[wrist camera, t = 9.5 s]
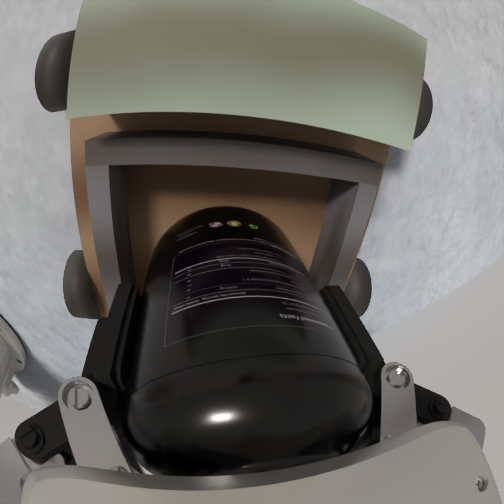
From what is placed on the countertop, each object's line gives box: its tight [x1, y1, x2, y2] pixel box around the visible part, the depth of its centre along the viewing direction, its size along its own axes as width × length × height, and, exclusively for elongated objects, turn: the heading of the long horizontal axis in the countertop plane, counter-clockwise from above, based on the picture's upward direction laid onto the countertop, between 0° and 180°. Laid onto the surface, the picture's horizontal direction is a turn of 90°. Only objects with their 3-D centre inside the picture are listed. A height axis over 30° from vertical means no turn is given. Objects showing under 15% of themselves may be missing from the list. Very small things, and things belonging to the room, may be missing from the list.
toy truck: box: [35, 0, 433, 319], centre depth 12 cm, size 20×19×7 cm
